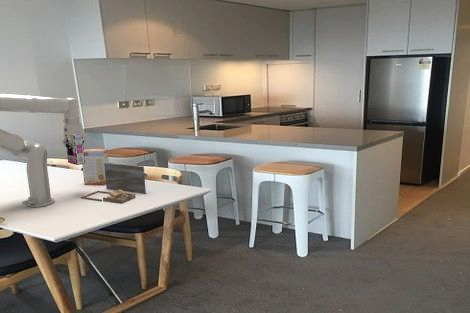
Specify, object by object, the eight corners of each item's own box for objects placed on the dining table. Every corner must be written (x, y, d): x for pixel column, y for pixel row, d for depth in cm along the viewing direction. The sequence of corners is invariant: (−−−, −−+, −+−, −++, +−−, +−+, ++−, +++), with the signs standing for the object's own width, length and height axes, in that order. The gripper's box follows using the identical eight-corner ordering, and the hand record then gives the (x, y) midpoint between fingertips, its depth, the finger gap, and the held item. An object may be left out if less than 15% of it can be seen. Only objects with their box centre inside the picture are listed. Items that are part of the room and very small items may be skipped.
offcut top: (115, 198, 203) (115, 195, 202) (109, 195, 209) (109, 191, 209) (126, 196, 206) (126, 192, 206) (120, 193, 213) (120, 189, 212)
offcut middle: (117, 202, 203) (117, 199, 202) (107, 199, 208) (106, 196, 208) (129, 199, 208) (128, 195, 208) (118, 196, 214) (118, 192, 213)
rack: (121, 206, 200) (118, 175, 197) (81, 200, 211) (77, 171, 208) (145, 195, 218) (143, 166, 214) (107, 190, 228) (105, 162, 225)
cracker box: (110, 182, 246) (107, 148, 241) (106, 185, 240) (103, 150, 236) (88, 182, 247) (85, 148, 243) (83, 185, 241) (80, 150, 237)
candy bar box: (86, 163, 218) (82, 133, 214) (77, 165, 214) (73, 134, 211) (76, 161, 225) (73, 131, 222) (67, 162, 222) (64, 133, 218)
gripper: (64, 123, 206) (68, 157, 210) (89, 119, 221) (92, 151, 225) (53, 122, 209) (57, 156, 213) (79, 119, 224) (82, 150, 228)
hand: (75, 153), depth 219 cm, fingers closed on candy bar box, 6 cm apart
